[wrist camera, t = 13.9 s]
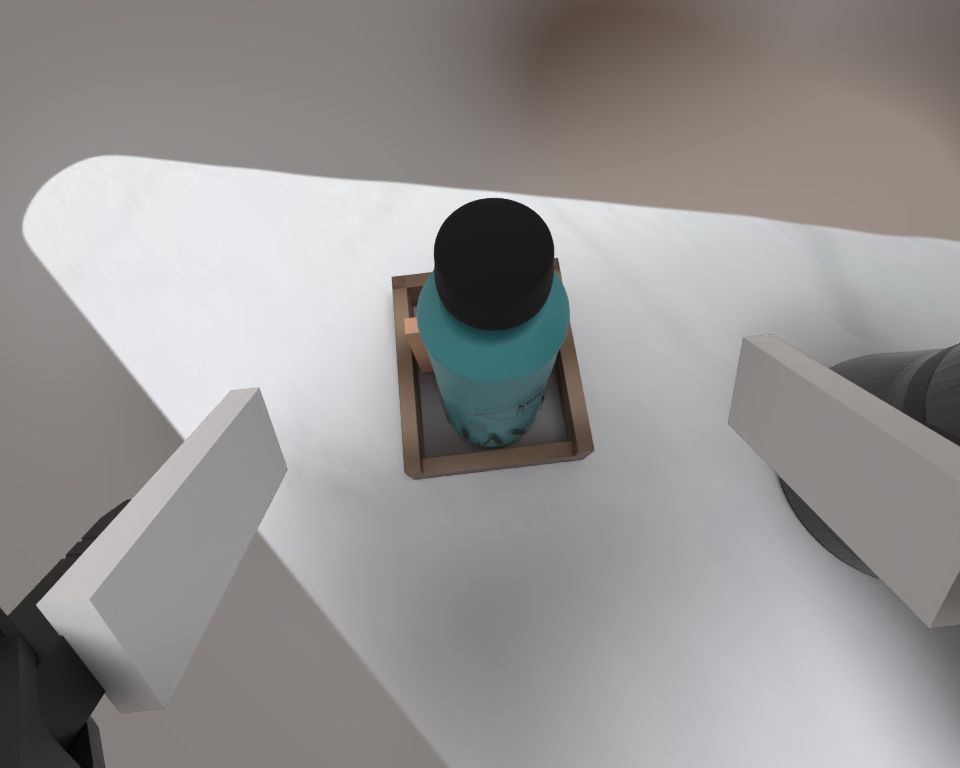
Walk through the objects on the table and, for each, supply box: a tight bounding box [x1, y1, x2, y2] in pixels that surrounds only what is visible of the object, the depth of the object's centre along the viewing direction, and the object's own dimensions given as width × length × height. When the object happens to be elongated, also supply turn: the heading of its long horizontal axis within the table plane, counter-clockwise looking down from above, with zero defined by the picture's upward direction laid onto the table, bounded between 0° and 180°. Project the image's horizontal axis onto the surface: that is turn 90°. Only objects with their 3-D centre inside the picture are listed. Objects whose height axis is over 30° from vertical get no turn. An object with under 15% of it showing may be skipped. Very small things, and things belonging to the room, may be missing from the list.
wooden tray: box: [392, 258, 594, 480], centre depth 33 cm, size 14×12×4 cm
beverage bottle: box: [416, 198, 570, 448], centre depth 24 cm, size 6×7×20 cm
